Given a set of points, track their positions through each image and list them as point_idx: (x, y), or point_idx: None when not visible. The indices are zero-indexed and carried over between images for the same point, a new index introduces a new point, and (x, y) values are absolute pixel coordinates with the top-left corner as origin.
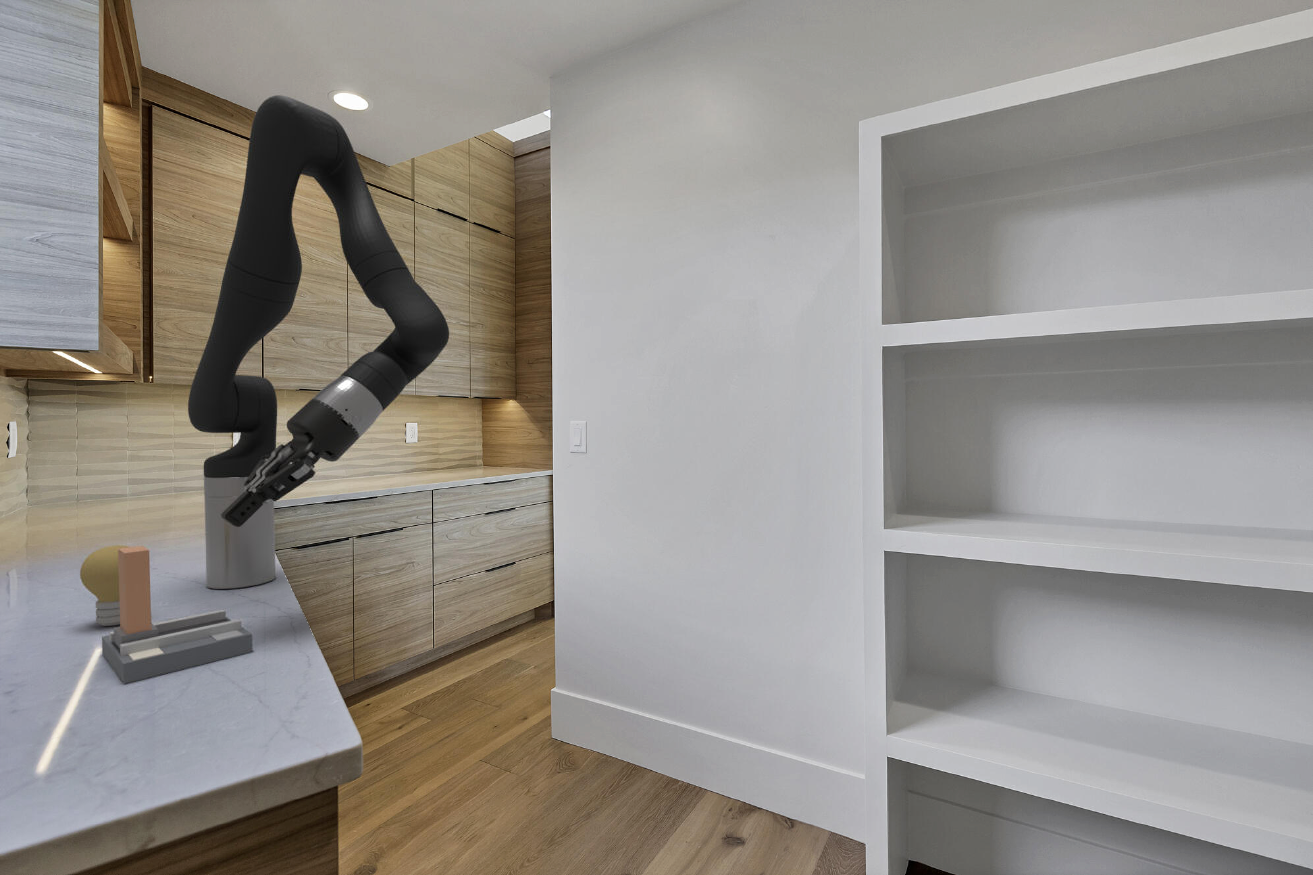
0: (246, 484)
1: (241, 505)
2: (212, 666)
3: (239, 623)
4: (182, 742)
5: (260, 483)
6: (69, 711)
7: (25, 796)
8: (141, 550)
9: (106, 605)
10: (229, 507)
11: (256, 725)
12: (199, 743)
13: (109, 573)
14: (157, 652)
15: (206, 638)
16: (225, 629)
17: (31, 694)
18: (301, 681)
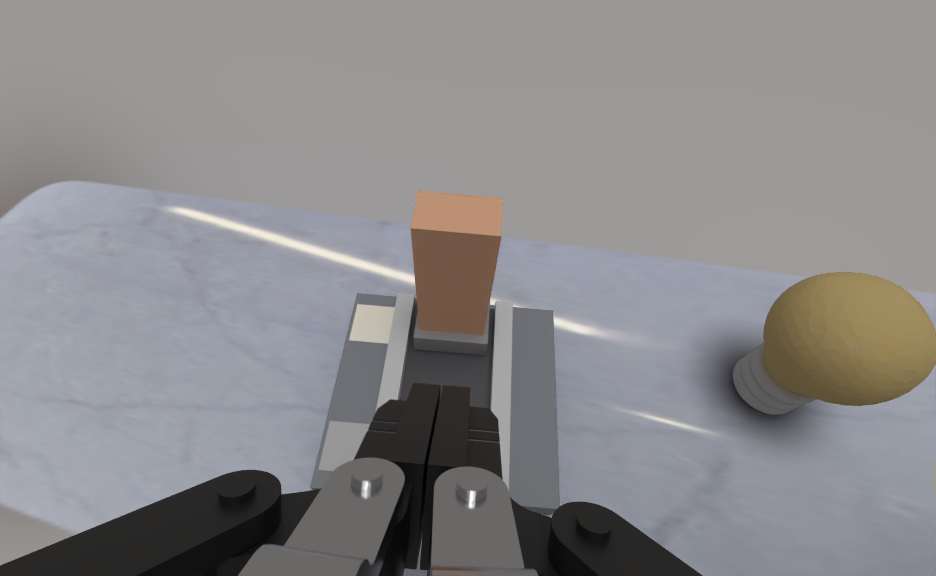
0: (560, 510)
1: (386, 434)
2: (312, 413)
3: None
4: (75, 296)
5: (252, 489)
6: (321, 252)
7: (133, 194)
8: (420, 217)
9: (755, 350)
10: (446, 402)
11: (6, 364)
12: (48, 306)
13: (776, 314)
14: (361, 334)
15: (370, 414)
16: None
17: None
18: (66, 483)
